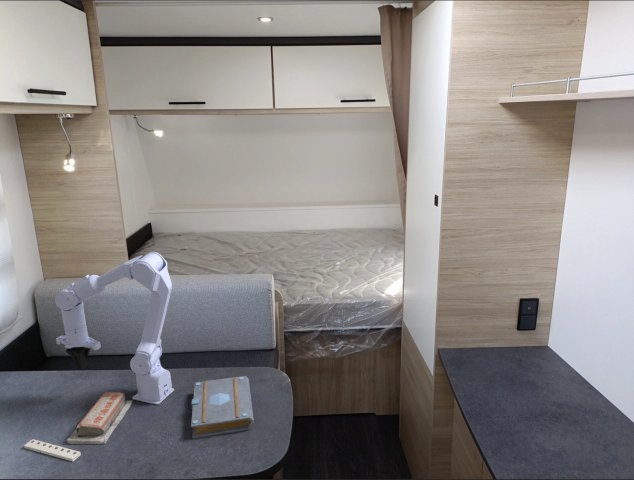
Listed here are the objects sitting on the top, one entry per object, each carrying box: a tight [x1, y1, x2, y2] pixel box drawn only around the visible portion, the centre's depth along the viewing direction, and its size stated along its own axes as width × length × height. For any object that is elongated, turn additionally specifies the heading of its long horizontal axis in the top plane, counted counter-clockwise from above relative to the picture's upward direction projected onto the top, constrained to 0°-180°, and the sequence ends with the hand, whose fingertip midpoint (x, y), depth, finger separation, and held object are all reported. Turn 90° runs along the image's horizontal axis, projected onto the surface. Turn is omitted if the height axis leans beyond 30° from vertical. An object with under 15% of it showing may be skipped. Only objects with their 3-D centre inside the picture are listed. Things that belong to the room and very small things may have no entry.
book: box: [190, 375, 255, 439], centre depth 131 cm, size 21×16×5 cm
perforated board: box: [23, 439, 82, 462], centre depth 116 cm, size 16×2×1 cm, turn 71°
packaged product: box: [66, 391, 134, 445], centre depth 127 cm, size 18×5×10 cm
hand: (82, 367), depth 137 cm, fingers closed
